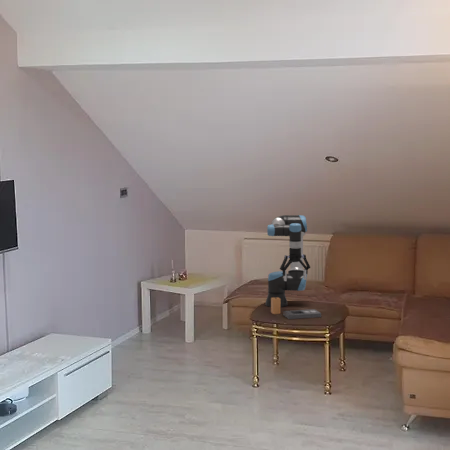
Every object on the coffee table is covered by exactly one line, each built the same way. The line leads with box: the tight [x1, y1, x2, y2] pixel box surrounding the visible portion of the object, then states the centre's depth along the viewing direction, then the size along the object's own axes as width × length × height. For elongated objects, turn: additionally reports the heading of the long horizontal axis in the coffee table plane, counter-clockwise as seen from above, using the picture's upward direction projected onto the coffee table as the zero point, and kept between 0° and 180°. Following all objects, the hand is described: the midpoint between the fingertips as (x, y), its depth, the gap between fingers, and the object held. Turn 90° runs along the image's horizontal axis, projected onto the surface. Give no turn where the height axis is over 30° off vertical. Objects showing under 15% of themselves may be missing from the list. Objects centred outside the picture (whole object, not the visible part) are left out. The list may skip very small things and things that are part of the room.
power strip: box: [282, 309, 322, 320], centre depth 446 cm, size 12×22×3 cm, turn 103°
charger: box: [270, 297, 282, 315], centre depth 454 cm, size 5×5×10 cm
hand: (295, 280), depth 444 cm, fingers open, 13 cm apart
